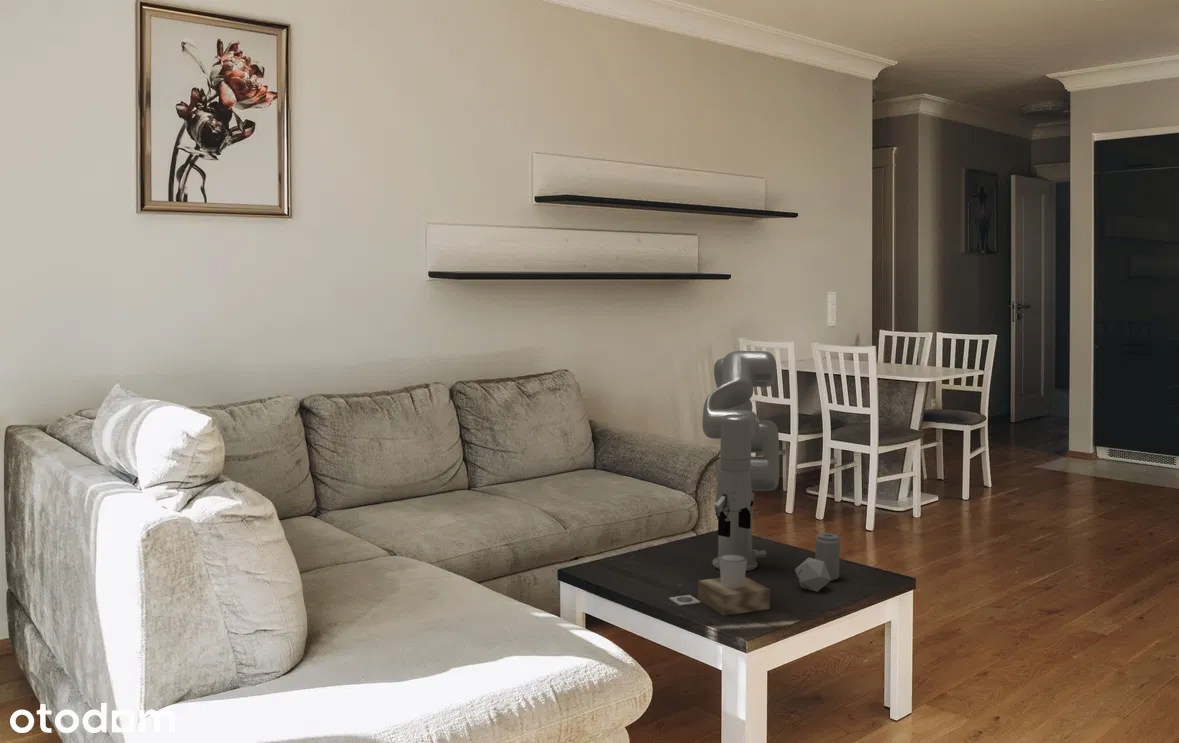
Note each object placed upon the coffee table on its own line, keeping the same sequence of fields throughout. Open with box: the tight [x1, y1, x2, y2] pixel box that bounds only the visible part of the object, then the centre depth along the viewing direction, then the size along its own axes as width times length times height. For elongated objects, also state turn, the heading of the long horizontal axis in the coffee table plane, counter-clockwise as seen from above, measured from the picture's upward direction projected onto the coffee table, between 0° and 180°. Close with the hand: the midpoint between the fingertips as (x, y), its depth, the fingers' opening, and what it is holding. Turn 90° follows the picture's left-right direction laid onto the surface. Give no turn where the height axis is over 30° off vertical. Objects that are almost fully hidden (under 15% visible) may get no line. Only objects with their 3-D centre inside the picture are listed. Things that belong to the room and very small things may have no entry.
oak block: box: [697, 576, 771, 617], centre depth 244 cm, size 13×13×5 cm
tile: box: [668, 594, 702, 607], centre depth 247 cm, size 6×6×1 cm
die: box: [794, 557, 831, 593], centre depth 257 cm, size 8×9×10 cm
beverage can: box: [814, 532, 841, 582], centre depth 266 cm, size 6×6×12 cm
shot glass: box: [719, 555, 747, 589], centre depth 244 cm, size 7×7×7 cm
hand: (734, 531), depth 243 cm, fingers open, 9 cm apart
